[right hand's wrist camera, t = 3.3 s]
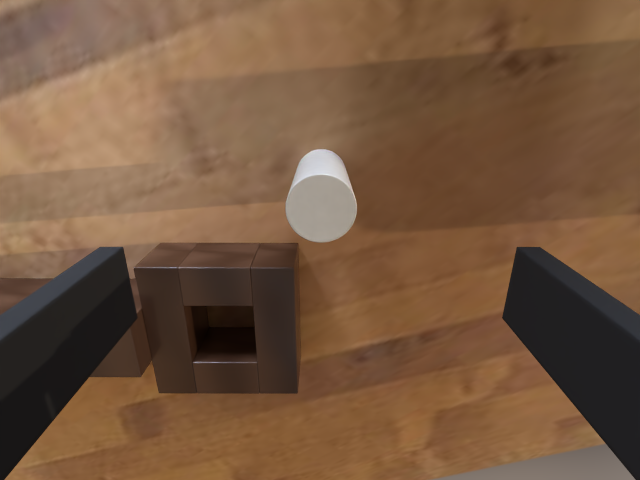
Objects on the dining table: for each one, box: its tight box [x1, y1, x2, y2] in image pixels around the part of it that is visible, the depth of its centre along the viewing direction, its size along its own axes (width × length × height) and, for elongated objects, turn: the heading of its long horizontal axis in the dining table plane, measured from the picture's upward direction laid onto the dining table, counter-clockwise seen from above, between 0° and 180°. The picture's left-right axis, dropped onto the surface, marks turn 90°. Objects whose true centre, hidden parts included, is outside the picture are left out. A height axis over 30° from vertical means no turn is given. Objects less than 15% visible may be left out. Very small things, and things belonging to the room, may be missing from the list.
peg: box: [286, 149, 357, 243], centre depth 25 cm, size 4×4×10 cm
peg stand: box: [0, 243, 301, 393], centre depth 31 cm, size 32×12×7 cm, turn 90°
